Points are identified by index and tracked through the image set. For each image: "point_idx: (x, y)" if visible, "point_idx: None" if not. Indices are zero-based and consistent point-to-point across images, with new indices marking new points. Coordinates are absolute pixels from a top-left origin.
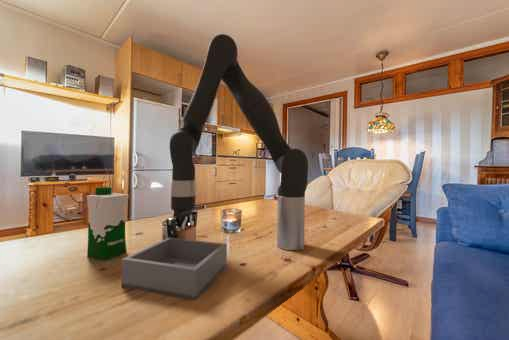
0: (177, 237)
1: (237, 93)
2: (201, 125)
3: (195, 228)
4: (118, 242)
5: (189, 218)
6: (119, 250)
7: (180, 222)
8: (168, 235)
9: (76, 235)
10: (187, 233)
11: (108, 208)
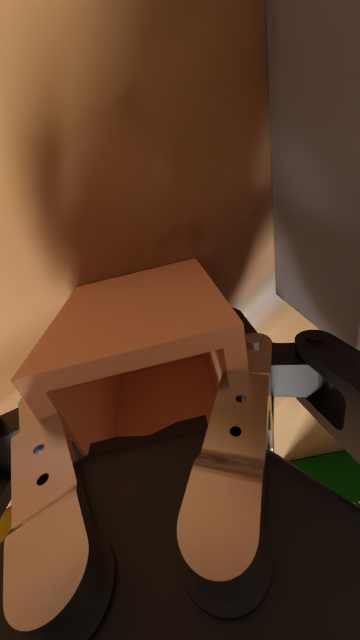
0: (268, 342)
1: None
2: None
3: (35, 363)
4: (357, 503)
5: (87, 522)
6: (321, 471)
7: (291, 467)
8: (333, 387)
9: None
10: (204, 315)
11: None
